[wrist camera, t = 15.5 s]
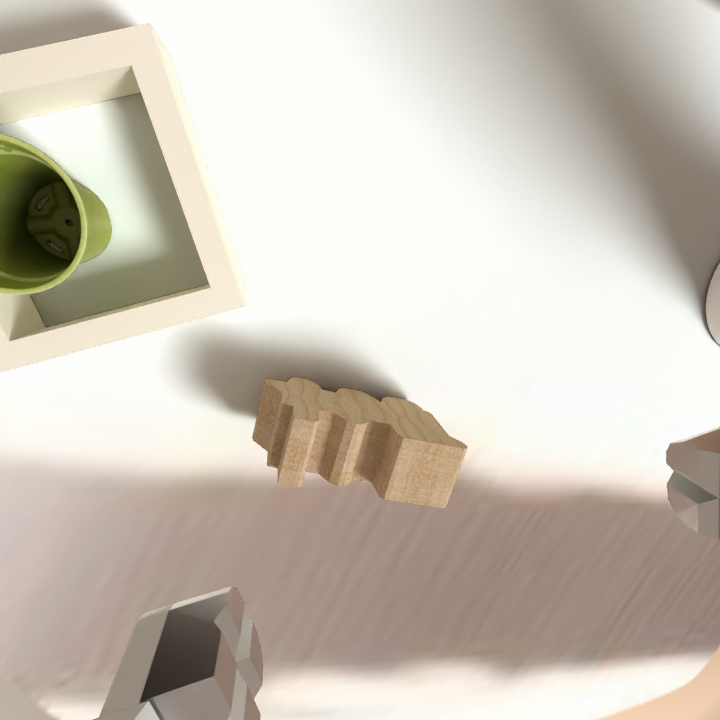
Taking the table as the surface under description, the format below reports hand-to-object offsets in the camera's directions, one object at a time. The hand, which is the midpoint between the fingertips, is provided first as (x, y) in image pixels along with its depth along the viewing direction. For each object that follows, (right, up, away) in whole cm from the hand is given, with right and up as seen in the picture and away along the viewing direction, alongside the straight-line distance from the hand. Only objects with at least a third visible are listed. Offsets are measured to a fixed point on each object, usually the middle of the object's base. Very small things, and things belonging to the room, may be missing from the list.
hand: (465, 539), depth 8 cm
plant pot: (-25, +14, +27) cm, 39 cm away
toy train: (-3, -2, +35) cm, 36 cm away
